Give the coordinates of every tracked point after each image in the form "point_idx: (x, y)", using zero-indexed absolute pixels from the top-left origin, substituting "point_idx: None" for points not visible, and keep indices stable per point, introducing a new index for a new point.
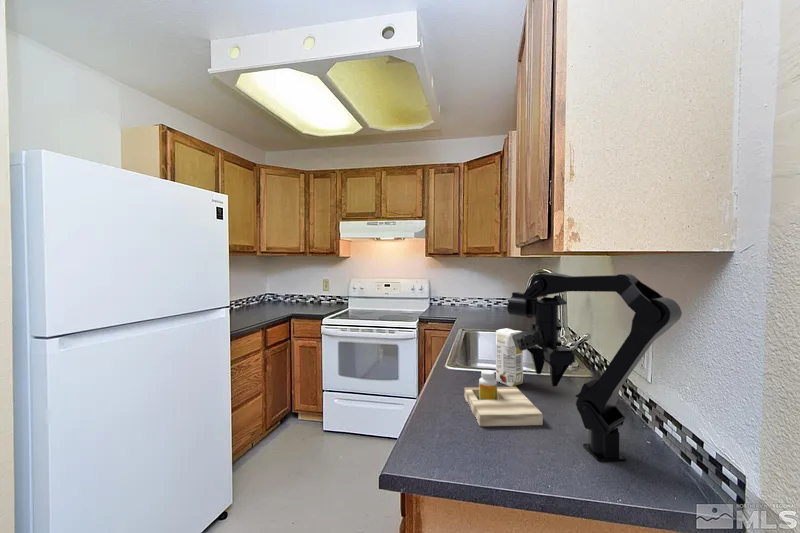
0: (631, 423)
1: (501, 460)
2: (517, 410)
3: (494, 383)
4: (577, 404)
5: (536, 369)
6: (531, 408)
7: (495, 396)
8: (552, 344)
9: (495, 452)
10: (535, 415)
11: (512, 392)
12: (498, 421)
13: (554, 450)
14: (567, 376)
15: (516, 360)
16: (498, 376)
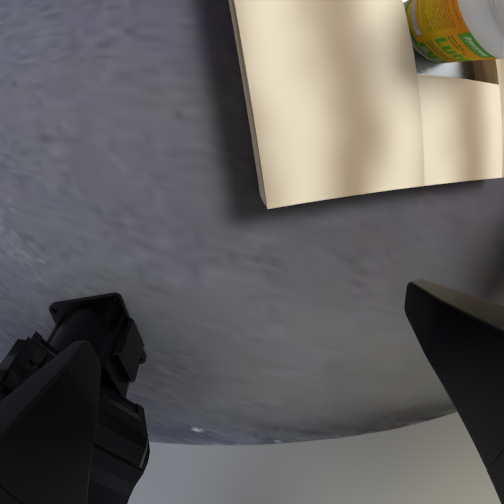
0: (290, 428)
1: (4, 33)
2: (296, 92)
3: (474, 27)
4: (26, 374)
5: (432, 300)
6: (327, 171)
7: (436, 42)
8: None
9: (38, 9)
10: (262, 172)
11: (478, 140)
12: (231, 5)
13: (70, 195)
14: None
15: None
16: None
